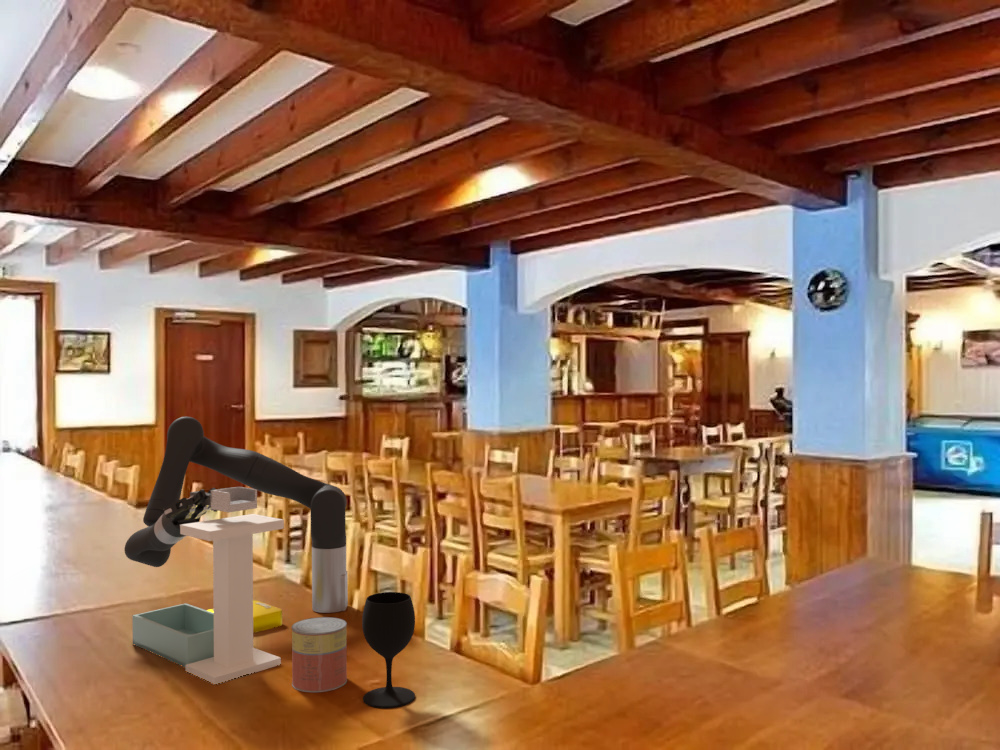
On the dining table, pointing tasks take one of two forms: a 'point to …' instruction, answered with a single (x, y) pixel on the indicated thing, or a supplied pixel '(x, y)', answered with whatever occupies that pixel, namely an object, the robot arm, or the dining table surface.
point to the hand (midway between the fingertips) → (209, 492)
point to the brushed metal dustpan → (230, 499)
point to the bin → (176, 633)
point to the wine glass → (388, 641)
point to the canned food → (319, 654)
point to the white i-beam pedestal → (232, 596)
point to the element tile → (264, 616)
